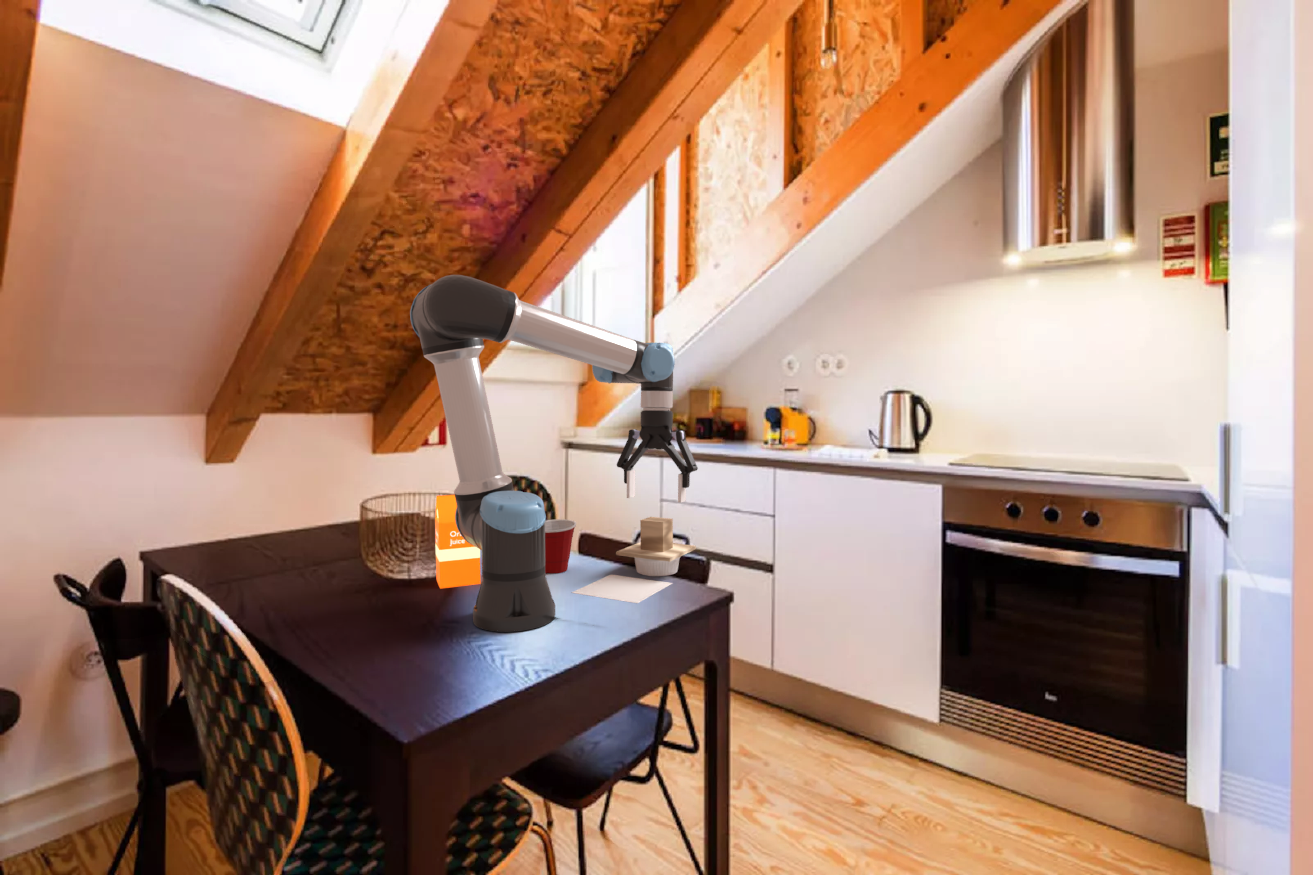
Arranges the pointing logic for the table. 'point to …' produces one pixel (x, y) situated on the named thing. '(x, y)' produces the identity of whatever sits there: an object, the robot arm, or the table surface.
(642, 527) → the birch lid
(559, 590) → the table surface
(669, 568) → the ramekin
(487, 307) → the robot arm
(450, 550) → the orange juice
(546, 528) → the plastic cup
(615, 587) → the white square panel
